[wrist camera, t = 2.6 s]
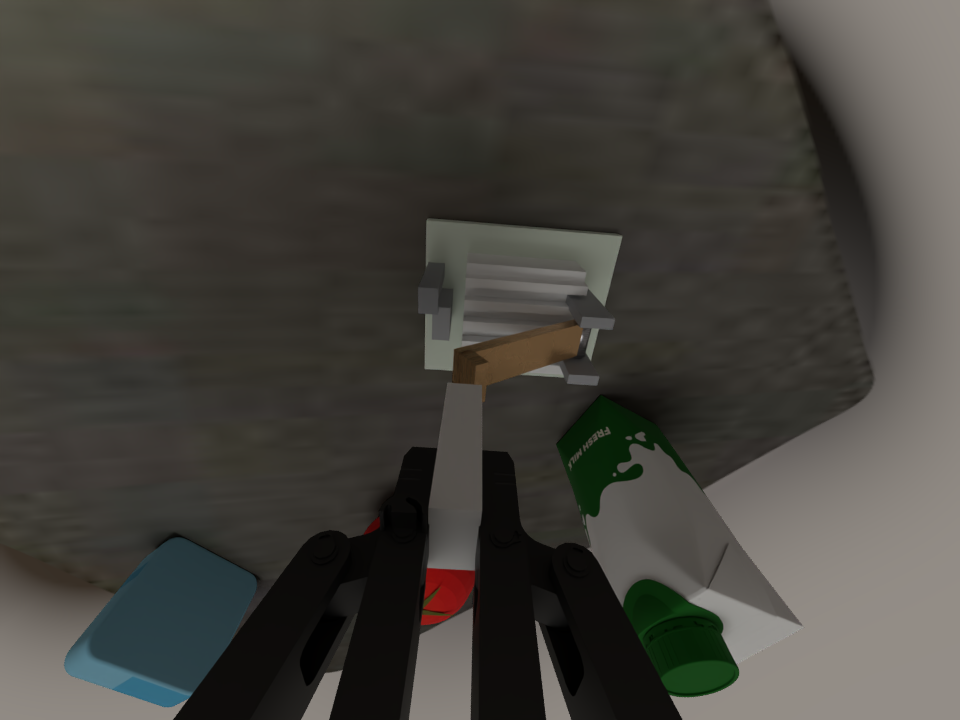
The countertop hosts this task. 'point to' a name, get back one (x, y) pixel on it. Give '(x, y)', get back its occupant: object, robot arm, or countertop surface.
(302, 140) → the countertop surface
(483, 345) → the wooden bar
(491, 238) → the base
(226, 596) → the light blue flat block
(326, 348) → the countertop surface
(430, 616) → the tomato
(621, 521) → the milk carton
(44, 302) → the countertop surface
